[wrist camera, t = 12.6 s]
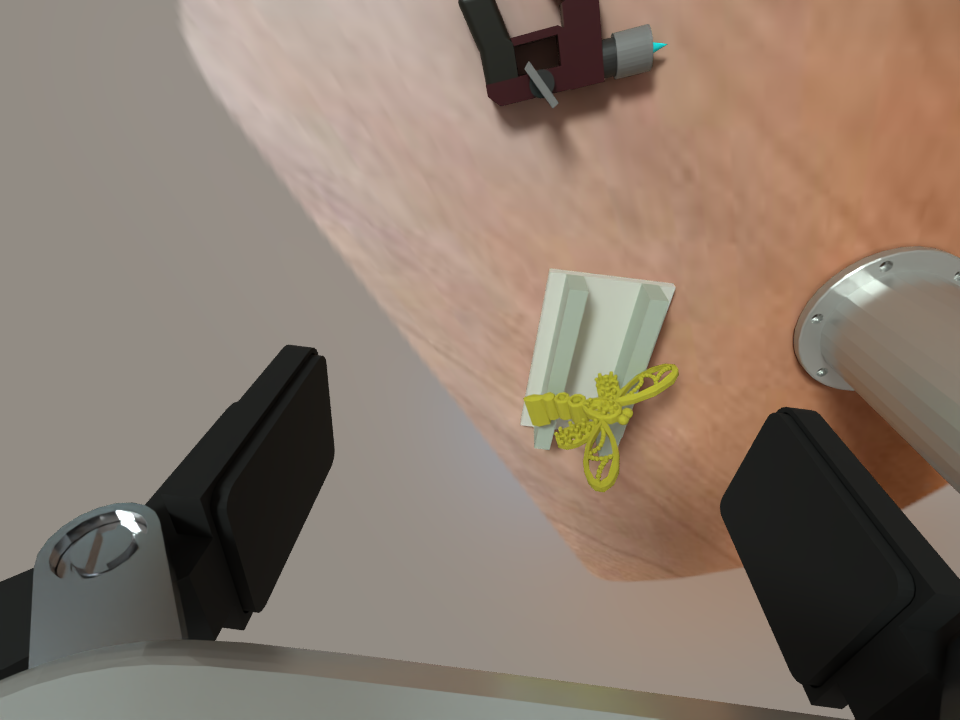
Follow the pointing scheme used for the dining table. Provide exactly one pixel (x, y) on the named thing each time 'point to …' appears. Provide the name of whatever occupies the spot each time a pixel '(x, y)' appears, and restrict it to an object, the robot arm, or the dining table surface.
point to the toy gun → (576, 46)
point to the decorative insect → (596, 416)
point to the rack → (593, 339)
